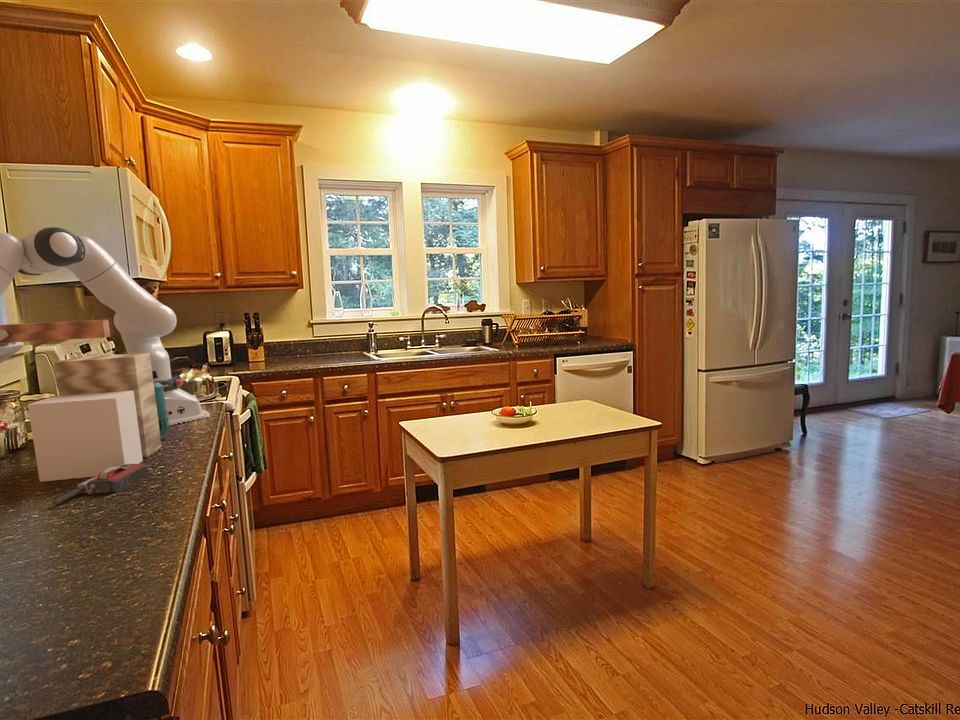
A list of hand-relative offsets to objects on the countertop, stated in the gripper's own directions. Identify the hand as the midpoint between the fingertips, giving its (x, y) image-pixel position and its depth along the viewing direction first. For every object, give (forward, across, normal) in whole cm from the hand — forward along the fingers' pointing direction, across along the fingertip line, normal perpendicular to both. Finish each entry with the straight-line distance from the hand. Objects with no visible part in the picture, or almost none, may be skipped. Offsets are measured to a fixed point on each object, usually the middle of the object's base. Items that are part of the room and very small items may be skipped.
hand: (13, 331), depth 128 cm
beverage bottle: (-2, +27, +38) cm, 47 cm away
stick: (+5, 0, +6) cm, 8 cm away
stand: (-6, +13, +36) cm, 39 cm away
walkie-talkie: (+1, -15, +41) cm, 44 cm away
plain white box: (-6, 0, +36) cm, 36 cm away
